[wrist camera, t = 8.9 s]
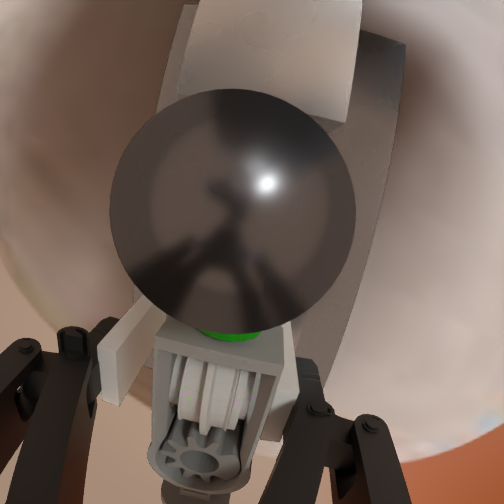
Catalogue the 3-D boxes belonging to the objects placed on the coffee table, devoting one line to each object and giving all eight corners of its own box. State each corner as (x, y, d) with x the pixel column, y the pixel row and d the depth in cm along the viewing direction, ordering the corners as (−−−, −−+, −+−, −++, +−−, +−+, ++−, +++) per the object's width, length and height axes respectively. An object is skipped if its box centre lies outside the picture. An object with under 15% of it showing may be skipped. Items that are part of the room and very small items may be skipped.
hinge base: (188, 11, 14) (84, -135, 2) (399, 50, 13) (538, -63, 1) (138, 354, 19) (40, 500, 7) (316, 392, 19) (336, 568, 7)
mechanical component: (198, 383, 18) (151, 519, 9) (226, 218, 16) (150, 299, 6) (245, 393, 18) (224, 536, 9) (286, 231, 15) (302, 333, 6)
